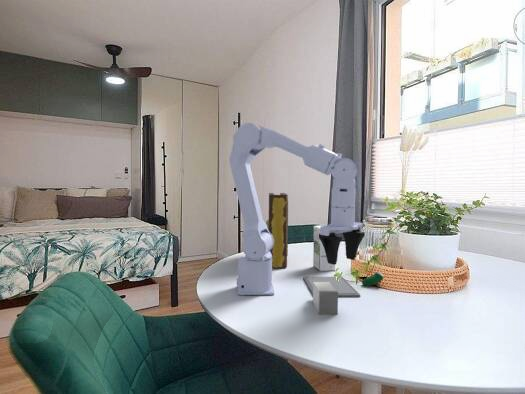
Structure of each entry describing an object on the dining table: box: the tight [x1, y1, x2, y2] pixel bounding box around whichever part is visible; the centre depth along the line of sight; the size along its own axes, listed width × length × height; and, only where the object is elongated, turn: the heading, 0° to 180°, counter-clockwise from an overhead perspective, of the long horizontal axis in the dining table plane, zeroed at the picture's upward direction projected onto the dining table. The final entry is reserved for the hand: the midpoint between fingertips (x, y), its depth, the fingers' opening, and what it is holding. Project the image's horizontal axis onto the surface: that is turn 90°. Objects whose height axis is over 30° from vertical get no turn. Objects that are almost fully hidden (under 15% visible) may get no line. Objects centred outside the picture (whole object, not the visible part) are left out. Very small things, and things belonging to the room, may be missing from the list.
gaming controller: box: [361, 271, 384, 287], centre depth 89 cm, size 9×4×6 cm
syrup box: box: [312, 224, 336, 272], centre depth 102 cm, size 6×6×14 cm
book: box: [265, 192, 289, 270], centre depth 112 cm, size 22×8×25 cm, turn 179°
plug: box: [312, 282, 339, 316], centre depth 71 cm, size 4×9×5 cm, turn 3°
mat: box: [302, 276, 361, 298], centre depth 84 cm, size 12×15×1 cm
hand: (341, 261), depth 75 cm, fingers open, 7 cm apart
